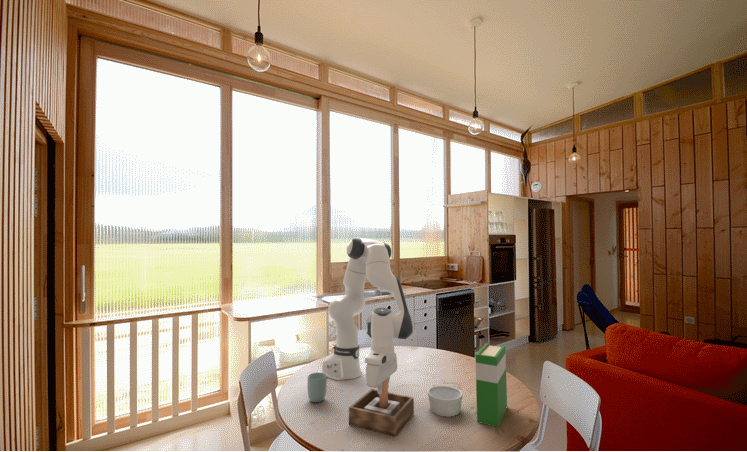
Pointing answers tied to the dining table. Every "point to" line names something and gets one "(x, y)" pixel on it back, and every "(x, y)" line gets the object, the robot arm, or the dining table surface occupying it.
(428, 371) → the dining table surface
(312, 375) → the cup
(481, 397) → the hardback book
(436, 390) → the ramekin
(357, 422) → the box
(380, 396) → the peg
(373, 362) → the robot arm
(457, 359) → the dining table surface
